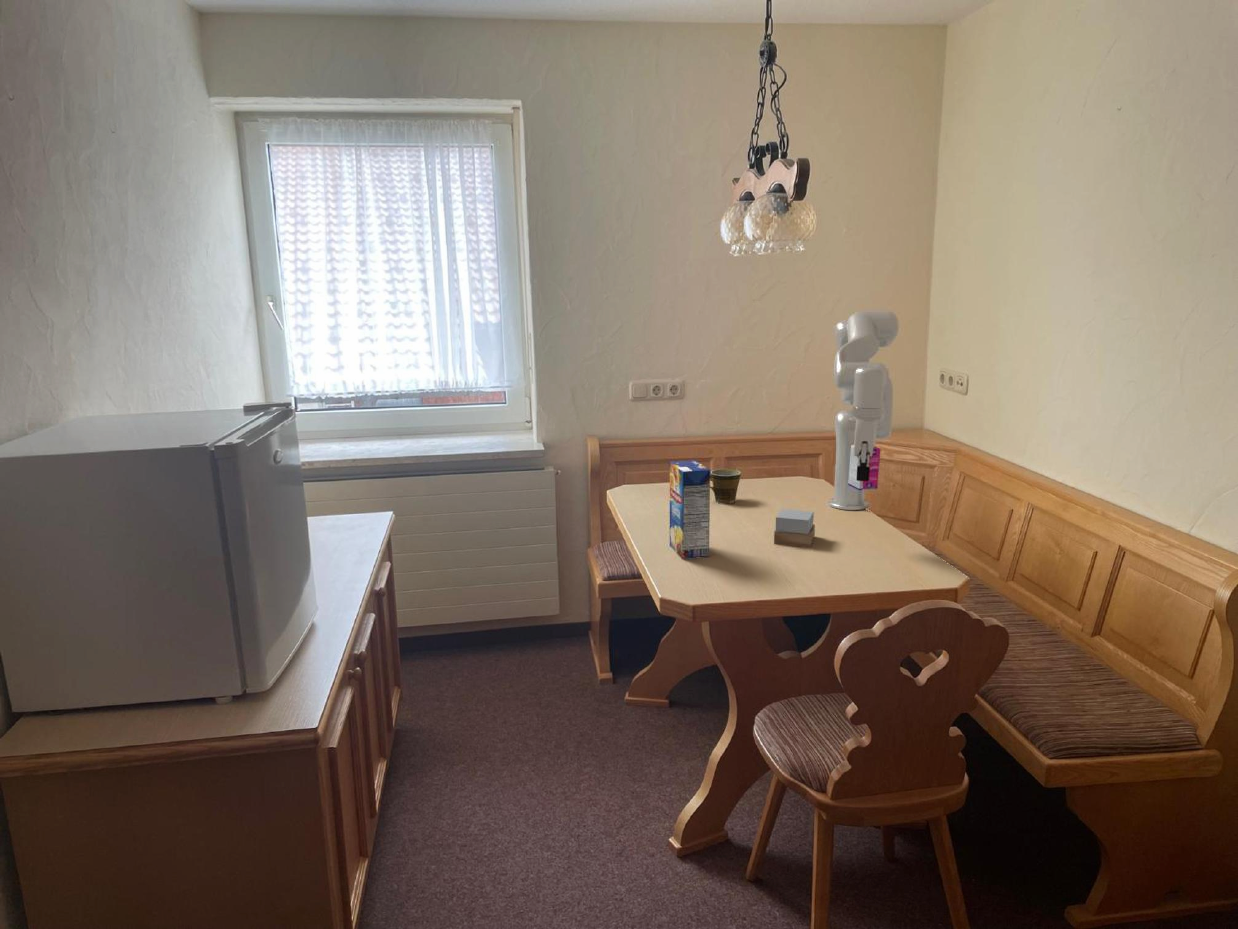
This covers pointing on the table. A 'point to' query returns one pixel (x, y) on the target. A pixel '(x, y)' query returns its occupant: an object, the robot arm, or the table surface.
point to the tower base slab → (794, 538)
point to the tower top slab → (794, 521)
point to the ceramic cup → (725, 484)
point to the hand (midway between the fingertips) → (863, 476)
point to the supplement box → (873, 474)
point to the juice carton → (689, 509)
